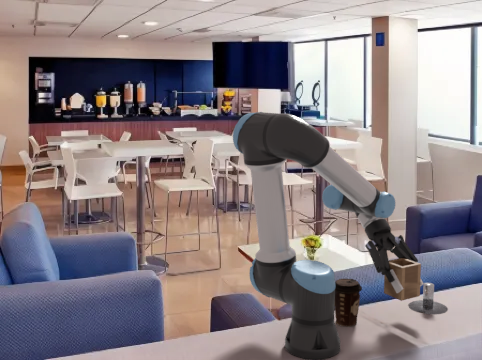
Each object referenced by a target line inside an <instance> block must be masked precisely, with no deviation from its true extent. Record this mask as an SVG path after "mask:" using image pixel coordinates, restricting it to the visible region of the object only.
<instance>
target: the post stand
mask: <svg viewBox="0 0 482 360" xmlns="http://www.w3.org/2000/svg"><path fill="white" fill-rule="evenodd" d="M423 283H424V284H423V285H422V286H423V287H422V288H423V289H422V292H423V293H422V300H420V299H419V300H414V301H410V302H409V303H408V305H407V306H408V308H409V309H410V310H411V311H414V312H416V313H418V314H419V313H420V314H425V315H441V314H445V313H446V312H448V310H449V308H448V307H447V305H445V304H443V303H441V302H437V301H435V299H434V298H435V297H434V295H435V294H434V293H435V284H434V283H432V282H423Z"/></svg>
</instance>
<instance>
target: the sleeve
mask: <svg viewBox="0 0 482 360" xmlns="http://www.w3.org/2000/svg"><path fill="white" fill-rule="evenodd" d="M388 260H389V259H388ZM389 266H390V270H392V269H393V270H394V272H395V274H396V276H397V278H398V280H399V281H400V283H401V285H402V287H403V290H401V291H400V292H399V293H396V291H395V289H394V287H393V286H392V284H391V283H390V282H389V281H388V279H387V277H386V275H383V277H384V280H383V293H384V294H385V295H387V296H389V297H392V298H394V299H396V300H399V301H401V302H402V301H406V300H411V299H413V298H417V297H420V296H421V287H420V278H421V274H422V273H421V271H422V264H421V263H419V262H414V261H411V260H408V259H404V258H395V259H390V260H389Z"/></svg>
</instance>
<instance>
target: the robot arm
mask: <svg viewBox="0 0 482 360" xmlns="http://www.w3.org/2000/svg"><path fill="white" fill-rule="evenodd" d="M232 133H233V134H232V142H233V145H234V148H235V149H236V150H237V152H239V153H241V154H242V156H243V157H242V158H243V162H244V166H245V167H247V168H248V169H249V170H250V176H251V185H252V192H253V193H252V194H253V202H254V212H255V219H256V227H257V228H256V229H257V236H258V237H257V238H258V245H259V246H258V247H259V250H258V251H257V252H256V253H255V254H254V255H255V258H254V259H253V261H251V266H250V268H249V280H250V283H251V286H252V287H253V289H254V290H256V291H257V293H259V294H262V295H263V296H265V297H266V298H270V299H273V300H277V301H279V302H282V303H285V304H287V305H289V306H291V320H290V324H289V327H288V329H287V332H286V335H285V339H284V348H285V350H286V352H288V354H291V355H293V356H295V357H298V358H302V359H306V360H322V359H329V358H332V357H334V356H336V355H338V354H339V353H340V352H341V339H340V335H339V332H338V330H337V326H336V321H335V287H336V285H335V281H336V280H335V278H336V277H335V272H334V270H333V268H332V267H331V266H329V265H328V264H326V263H324V262H321V261H319V260H311V259H300V260H297V254H296V253H297V252H296V250H295V249H294V248H293V247H292V246H290V236H289V226H288V219H287V207H286V199H285V198H286V197H285V188H284V179H283V176H284V175H283V169H282V168H283V167H282V166H283V165H284V163H285V162H287V160H291V161H293V162H296V163H298V164H300V166H302V167H304V168H306V169H311V170H313V171H314V172H315V173H317V175H319V176H320V177H321V178H323V179H324V180H325V181H326V182H328V183H329V185H327V186H326V187H325V188H324V190H323V192H322V195H321V196H322V197H321V198H322V202H323V205H324V206H325V207H326V208H328V209H330V210H335V211H336V210H339V211H340V210H341V211H346V212H351V213H354V214H355V215H356V218H357V219H358V221H359V223H360V224H361V227H362V228H363V229H364V232H365V234H366V236H367V238H368V239H369V241H368V242H367V243H366V244H365V245H364V246H365V248H366V250H367V251H368V252H369V255H370V258H371V260H372V263H373V265H374V268H375V270H376V272H377V274H381V275H382V276H384V275H386V277H387V279H388V281H389V282H390V283H391V284H392V286H393V287H394V289H395V291H396V293H399V292H400V291H401V290H403V287H402V285H401V283H400V281H399V280H398V278H397V276H396V274H395V272H394V270H393V269H392V270H390V266H389V257H388V251H389V252H390V253H391V254H394V255H395V257H396V258H397V259H399V258H404V259H408V260H411V261H414V262H417V263H419V259H418V258H417V257H416V255H415V254H414V253H413V251H412V250H411V248H410V247H409V246H408V244H407V243H406V242H405V239H404V236H403V235H401V234H399V235H398V236H395V235H394V234H393V233H392V230H391V229H392V227H391V225H389V223H388V221H387V219H388V218H390V217H391V216H392V215H393V213H394V212H395V211H394V210H395V209H396V198H395V196H394V195H393V194H392V193H390V192H386V191H380V190H379V189H378V188H376V187H375V186H374V185H373V184H372V183H371V182H370V181H369V180H367V179H366V178H365V177H364V176H363V174H361V173H360V172H359V171H358V170H356V169H355V168H354V166H352V165H351V164H350V163H349V162H348V161H346V160H345V159H344V158H343V157H342V156H341V155H340V154H339V153H338V152H336V151H335V150H334V149H333V148H332V147H331V144H330V141H329V139H328V138H327V136H325V135H323V134H322V133H321V131H319V130H318V129H316V128H315V127H314V126H313V125H311V124H310V123H308V122H307V121H306V120H304V119H302V118H300V117H298V116H296V115H293V114H290V113H276V112H262V111H256V112H249V113H246V114H244V115H243V116H241V118H239V119H238V121H237V123H236V124H235V125H234V129H233V131H232ZM424 283H425V282H423V280H422V278H421V277H420V288H421V287H422V286H424Z"/></svg>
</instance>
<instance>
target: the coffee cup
mask: <svg viewBox="0 0 482 360" xmlns="http://www.w3.org/2000/svg"><path fill="white" fill-rule="evenodd" d="M335 285H336V287H335V310H334V318H335V324H336V323H337V324H338V325H337V324H336V325H337V326H340V325H341V327H353V326H356V325H357V323H358V315H359V314H358V313H359V307H360V299H361V294H360V292H361V291H362V290H363V287H362V286H361V284H360V283H359V282H358V281H357V280H356V279H353V278H339V279H337V280H335Z"/></svg>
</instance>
